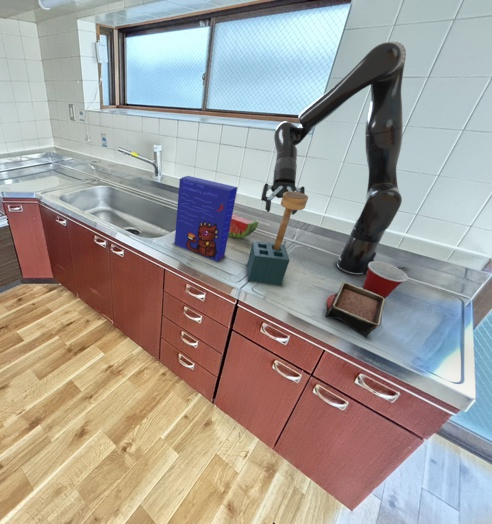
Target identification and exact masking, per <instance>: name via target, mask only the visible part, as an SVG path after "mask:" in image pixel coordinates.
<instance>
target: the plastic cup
mask: <svg viewBox="0 0 492 524" xmlns="http://www.w3.org/2000/svg"><path fill="white" fill-rule="evenodd" d="M397 267H398V266H395V265H392V264H390V263H386V262H384V261H379V260H378V261H376V260H374V261H372V262H369V264H368V271H367V273H366V275H365V279H364V283H363V285H362V288H363V289H365V290H368V291H370V292H373V293H375V294H377V295H379V296H381V297H383V298H384V299H385V300H386V298H387V297H388V296H390V295H391V294H392V293H393V292H394V290H395V289H397V287H398V286H400V285H401V284H403V282H407V281H408V280H409V276H408V275H407V273H406V272H405V271H403V269H399V268H397Z"/></svg>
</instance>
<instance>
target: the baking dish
mask: <svg viewBox="0 0 492 524" xmlns="http://www.w3.org/2000/svg"><path fill="white" fill-rule="evenodd" d="M385 303H386V298H385V299H384V298H383V297H381V296H379V295H377V294H375V293H373V292H370V291H368V290H365V289H363V287H360V286H357V285H355V284H352V283H348V282H341V285H340V287H339V289H338V291H337V293H335V294H331V295H329V296H328V297H327V299H326V309H325V314H324V318H329V319H339V320H340V321H342V322H343V323H344V324H346V325H348V326H349V327H350V328H352V329H354V331H356V332H358V333H359V334H360V335H362V336H363V337H365V338H366V339H367V338H368V337H369V336H370V334H371V333H372V332H373V331H374V330H375V329H377V328H378V327H379V326H381V324H382V322H383V321H382V320H383V313H384V312H383V311H384V307H385Z"/></svg>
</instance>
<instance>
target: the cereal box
mask: <svg viewBox="0 0 492 524" xmlns="http://www.w3.org/2000/svg"><path fill="white" fill-rule="evenodd" d="M237 192H238V186H233V185H229V184H227V183H221V182H217V181H211V180H208V179H204V178H201V177H195V176H190V175H186V176H183V177H180V178H179V182H178V194H177V195H178V196H177V208H176V209H177V210H176V218H175V219H176V221H175V233H174V245H175V246H177V247H180V248H182V249H184V250H187V251H190V252H192V253H194V254H196V255H199V256H201V257H204V258H207V259H209V260H211V261H213V262H217V263H218V262H219V261H220V260H222V259H224V258H225V255H226V250H227V244H228V239H229V236H228V234H229V229H230V224H231V219H232V214H234V208H235V203H236V199H237V198H236V197H237Z"/></svg>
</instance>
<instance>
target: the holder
mask: <svg viewBox="0 0 492 524" xmlns="http://www.w3.org/2000/svg"><path fill="white" fill-rule="evenodd" d="M274 244H275V243H273V242H272V243H271V242H265V241H255V240H253V241H252V243H251V246H250V252H249V255H248V259H247V264H246V270H247V271H246V272H247V281H248V282H252V283H253V282H254V283H260V284H266V285H272V286H279V287H282V285H283V281H284V278H285V277H286V276H285V275H286V272H287V269H288V267H289V263H290V257H289V253H288V250H287V248H286V245H285V244H281V247H280V250H274V249H273V247H274Z"/></svg>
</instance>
